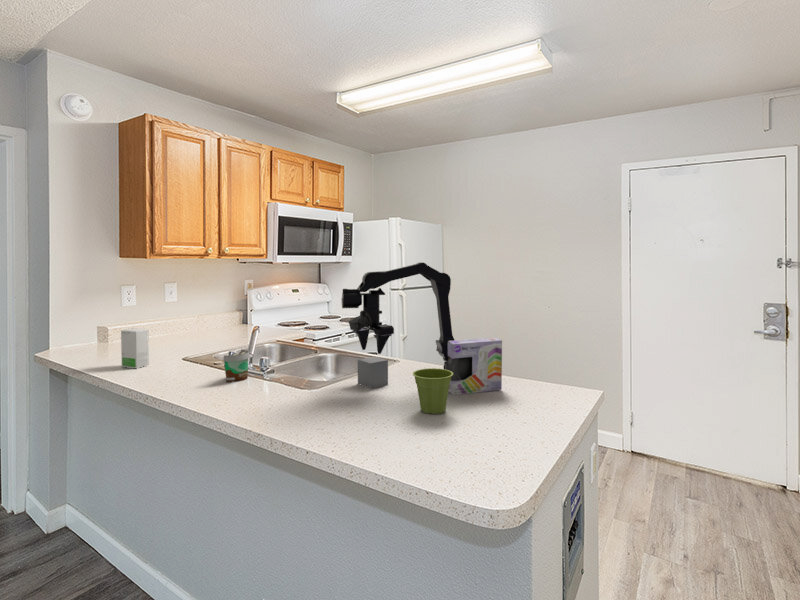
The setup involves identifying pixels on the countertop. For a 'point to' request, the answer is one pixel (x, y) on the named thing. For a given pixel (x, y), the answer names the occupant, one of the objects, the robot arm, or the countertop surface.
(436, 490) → the countertop surface
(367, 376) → the matte gray foam cube
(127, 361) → the skincare box
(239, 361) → the food container
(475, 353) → the cake pan box
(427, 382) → the plant pot
